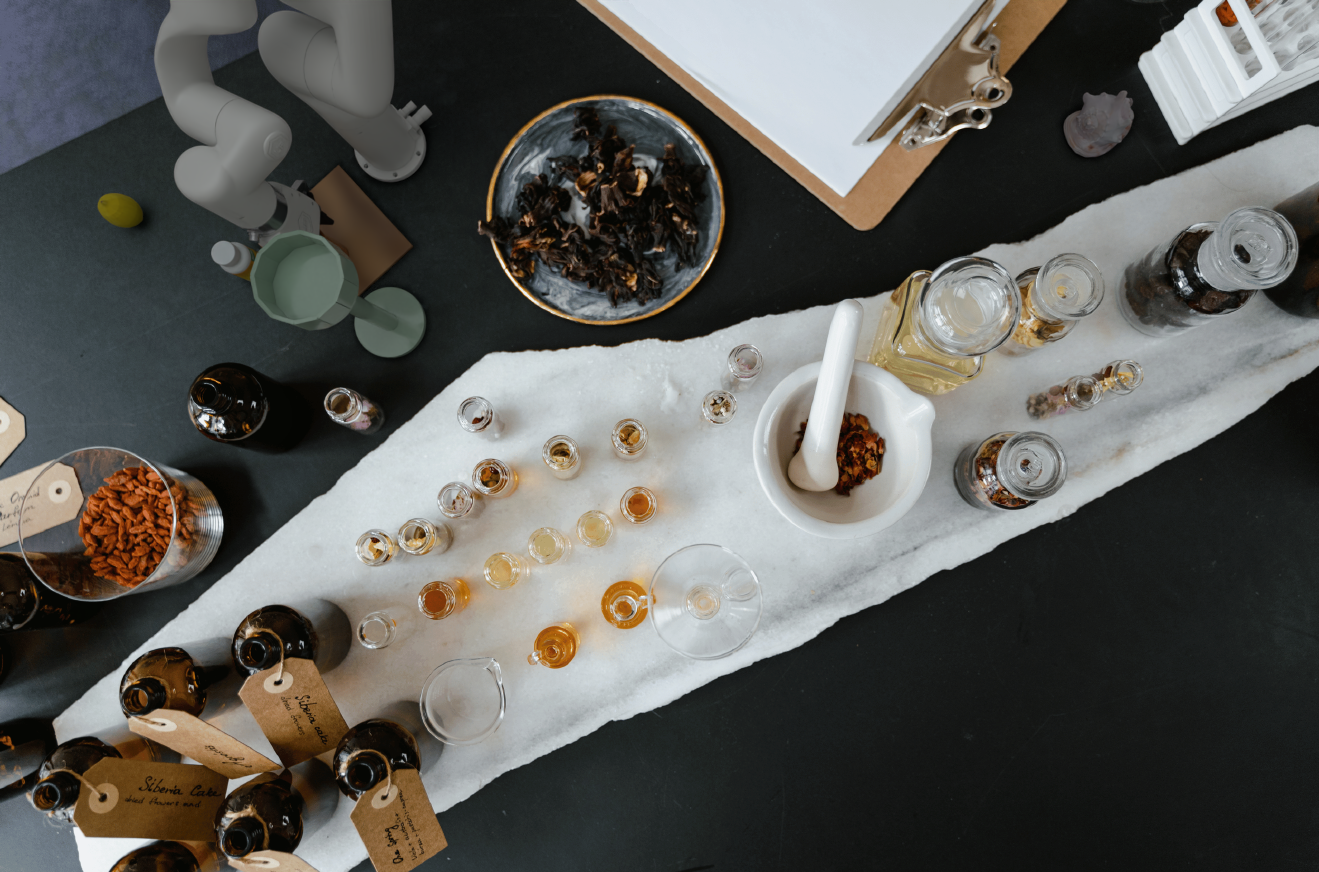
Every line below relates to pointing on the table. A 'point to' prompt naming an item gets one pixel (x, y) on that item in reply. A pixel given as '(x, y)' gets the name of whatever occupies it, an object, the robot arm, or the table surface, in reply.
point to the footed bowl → (332, 294)
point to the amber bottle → (334, 242)
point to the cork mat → (359, 227)
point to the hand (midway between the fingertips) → (324, 246)
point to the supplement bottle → (234, 258)
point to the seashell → (1099, 124)
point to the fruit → (120, 210)
